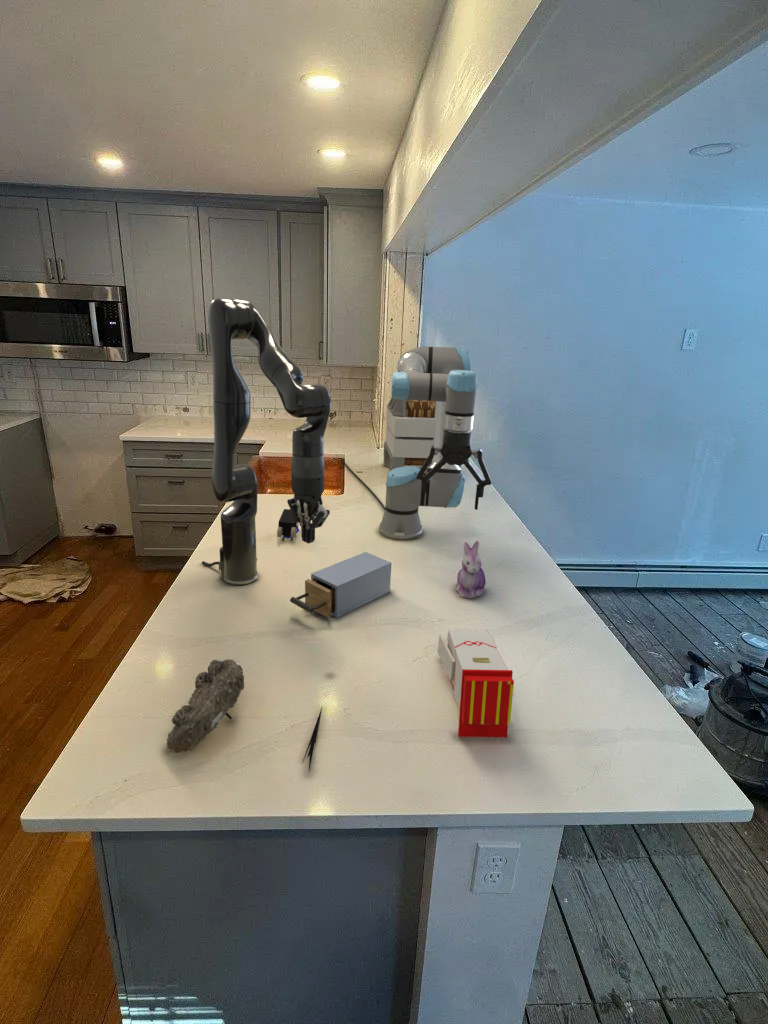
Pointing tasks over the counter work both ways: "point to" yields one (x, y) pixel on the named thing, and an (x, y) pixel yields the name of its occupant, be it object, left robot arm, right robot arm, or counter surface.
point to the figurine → (471, 573)
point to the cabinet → (356, 581)
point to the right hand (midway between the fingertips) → (451, 506)
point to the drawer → (317, 598)
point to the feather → (313, 740)
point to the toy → (478, 682)
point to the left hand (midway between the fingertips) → (308, 541)
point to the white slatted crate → (408, 432)
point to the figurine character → (287, 525)
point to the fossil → (206, 705)
